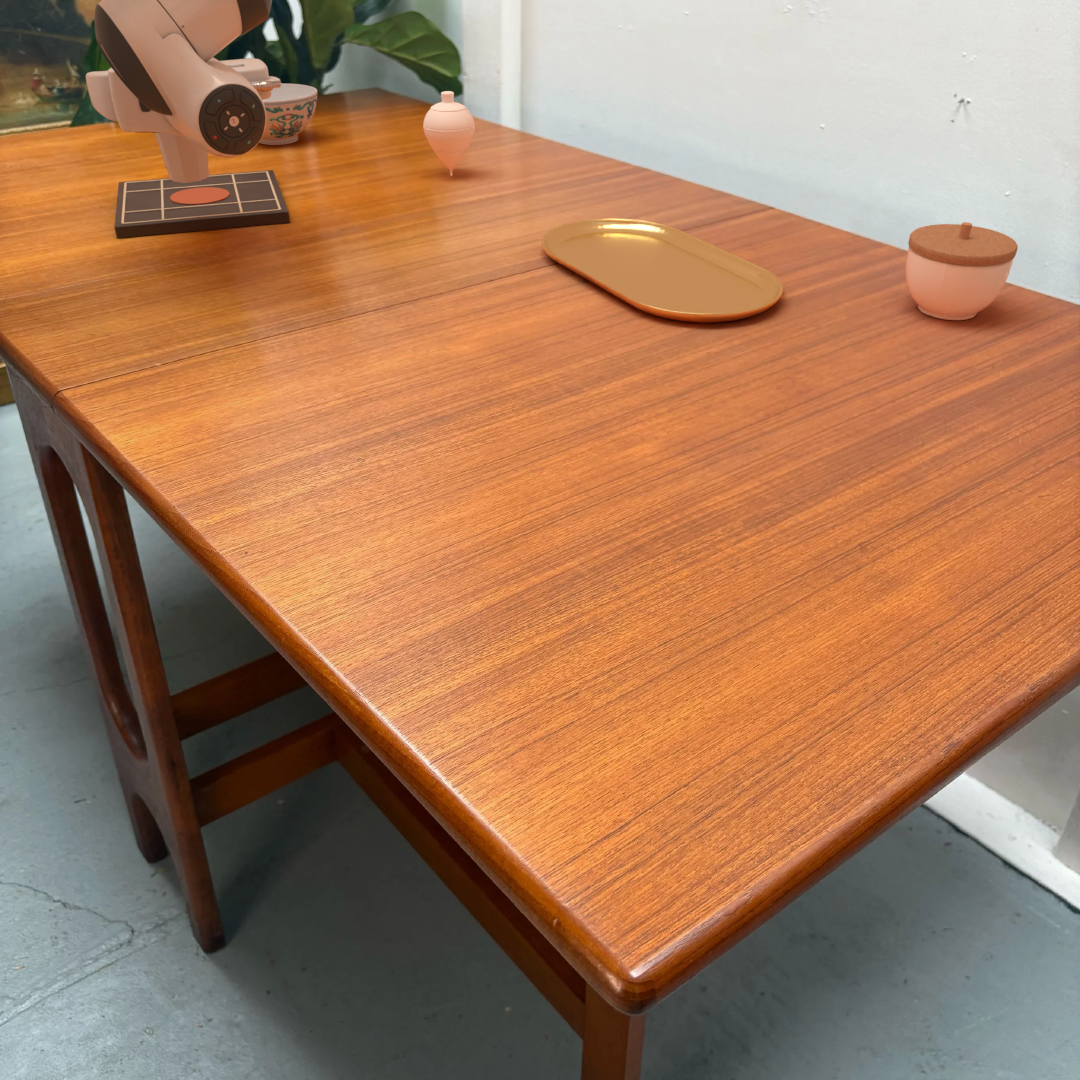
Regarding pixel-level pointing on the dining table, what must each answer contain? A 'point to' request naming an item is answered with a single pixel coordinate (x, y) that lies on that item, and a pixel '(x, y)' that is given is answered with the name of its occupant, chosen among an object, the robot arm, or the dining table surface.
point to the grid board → (199, 204)
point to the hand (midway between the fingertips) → (167, 74)
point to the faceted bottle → (183, 158)
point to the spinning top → (449, 130)
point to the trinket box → (957, 268)
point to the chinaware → (288, 113)
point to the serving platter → (663, 269)
